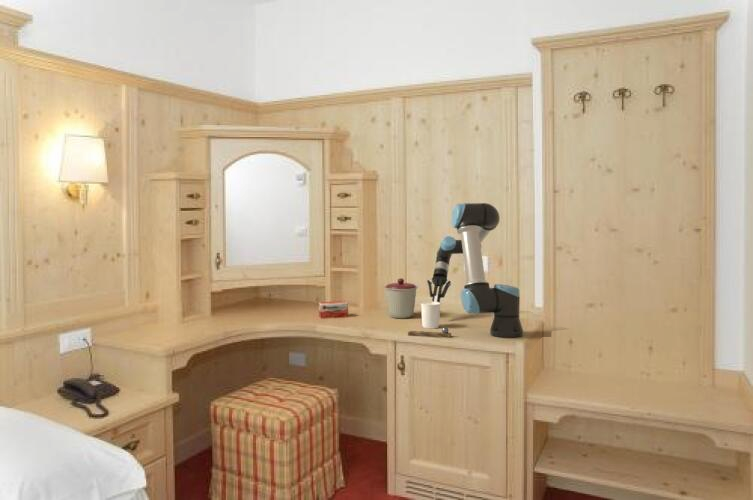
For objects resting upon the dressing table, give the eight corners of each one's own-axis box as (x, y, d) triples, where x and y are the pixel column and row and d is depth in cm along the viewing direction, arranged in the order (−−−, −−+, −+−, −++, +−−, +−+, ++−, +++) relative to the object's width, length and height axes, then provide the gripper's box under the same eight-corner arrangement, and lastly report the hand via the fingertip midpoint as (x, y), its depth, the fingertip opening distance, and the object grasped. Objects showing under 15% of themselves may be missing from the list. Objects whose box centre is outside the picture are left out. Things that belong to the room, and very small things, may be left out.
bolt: (448, 332, 291) (448, 327, 291) (447, 334, 289) (447, 328, 289) (442, 332, 292) (442, 327, 292) (441, 333, 290) (441, 328, 289)
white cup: (423, 329, 308) (423, 305, 307) (418, 325, 317) (418, 302, 316) (443, 328, 310) (442, 304, 309) (437, 324, 319) (437, 301, 318)
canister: (423, 318, 336) (423, 279, 335) (392, 321, 330) (391, 281, 328) (409, 312, 353) (409, 275, 351) (379, 315, 346) (379, 277, 345)
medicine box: (320, 319, 338) (320, 304, 337) (318, 316, 346) (318, 302, 345) (348, 317, 342) (348, 303, 341) (345, 315, 349) (345, 300, 349)
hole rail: (451, 336, 292) (451, 332, 291) (449, 337, 288) (449, 334, 288) (409, 334, 297) (409, 330, 297) (408, 335, 294) (408, 332, 294)
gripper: (453, 276, 342) (448, 311, 327) (430, 275, 345) (423, 310, 331) (451, 267, 336) (446, 303, 322) (428, 267, 340) (421, 302, 325)
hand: (434, 307), depth 326 cm, fingers closed
